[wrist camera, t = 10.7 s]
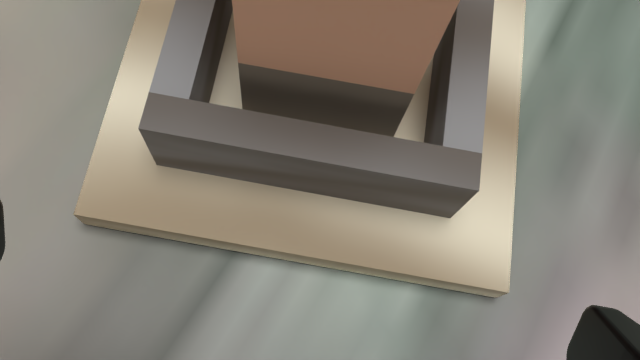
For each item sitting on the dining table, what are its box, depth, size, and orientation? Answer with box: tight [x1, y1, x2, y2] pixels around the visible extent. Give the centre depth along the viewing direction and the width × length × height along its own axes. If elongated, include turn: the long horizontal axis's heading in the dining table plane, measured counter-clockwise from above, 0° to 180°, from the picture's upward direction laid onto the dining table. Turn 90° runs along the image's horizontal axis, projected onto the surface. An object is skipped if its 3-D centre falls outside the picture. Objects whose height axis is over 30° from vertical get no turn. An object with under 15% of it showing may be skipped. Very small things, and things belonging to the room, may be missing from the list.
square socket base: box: [74, 0, 526, 298], centre depth 18 cm, size 12×12×4 cm
